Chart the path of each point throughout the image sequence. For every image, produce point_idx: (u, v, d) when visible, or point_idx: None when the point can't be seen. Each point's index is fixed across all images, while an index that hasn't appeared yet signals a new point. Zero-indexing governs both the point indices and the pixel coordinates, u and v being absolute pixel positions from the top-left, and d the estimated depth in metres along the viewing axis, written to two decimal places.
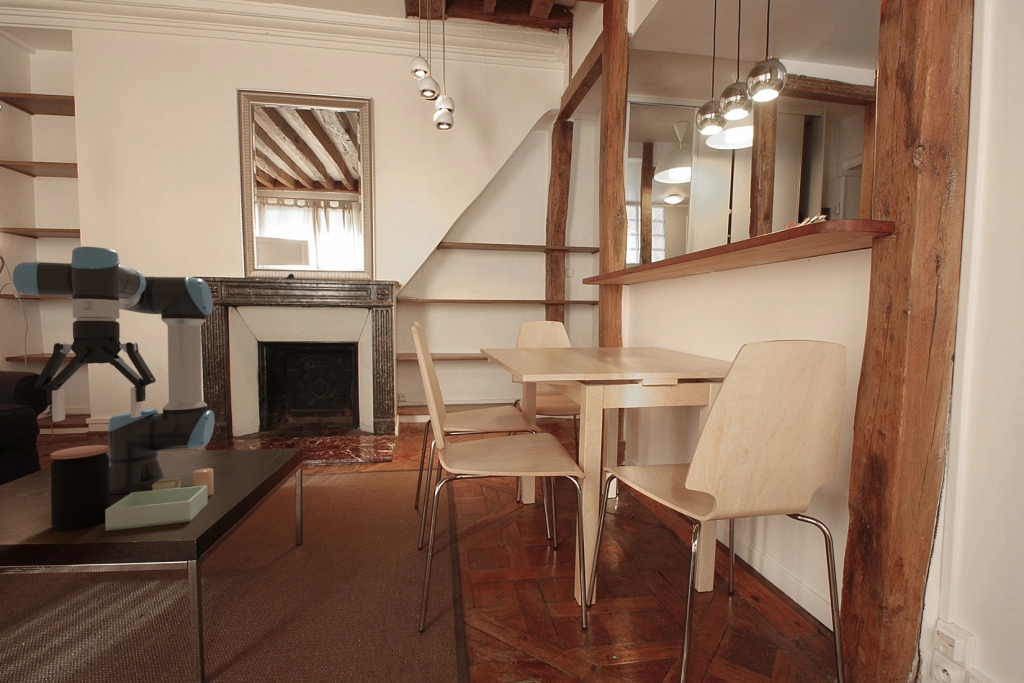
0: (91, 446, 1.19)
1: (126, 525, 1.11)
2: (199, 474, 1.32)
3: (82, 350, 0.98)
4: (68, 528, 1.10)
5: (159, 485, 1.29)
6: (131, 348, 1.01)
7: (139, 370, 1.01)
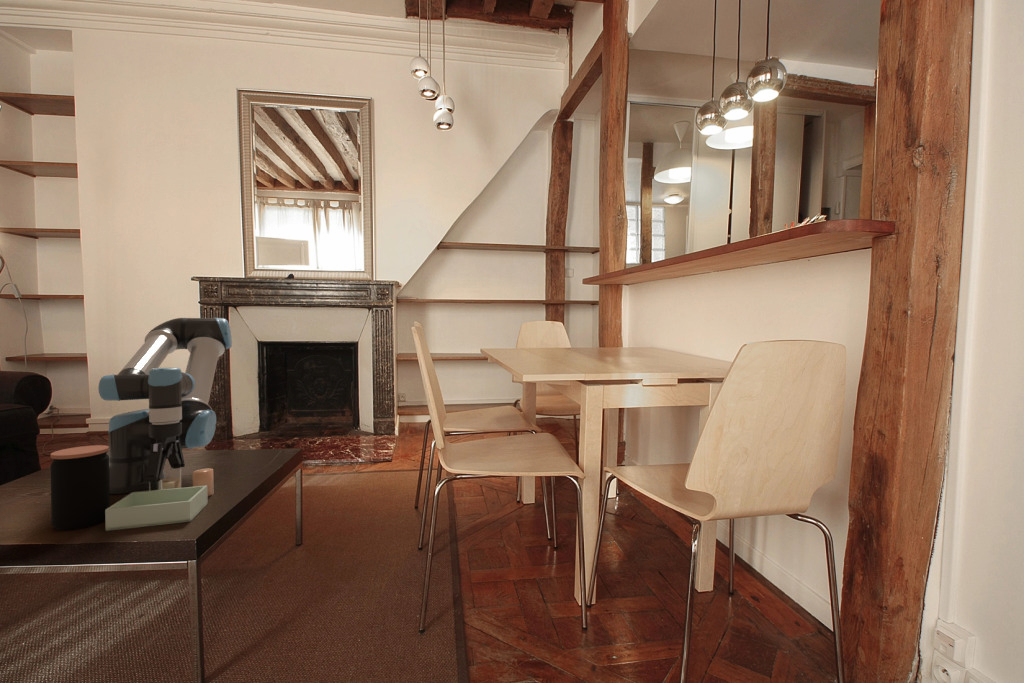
0: (91, 446, 1.19)
1: (126, 525, 1.11)
2: (199, 474, 1.32)
3: None
4: (68, 528, 1.10)
5: None
6: None
7: None
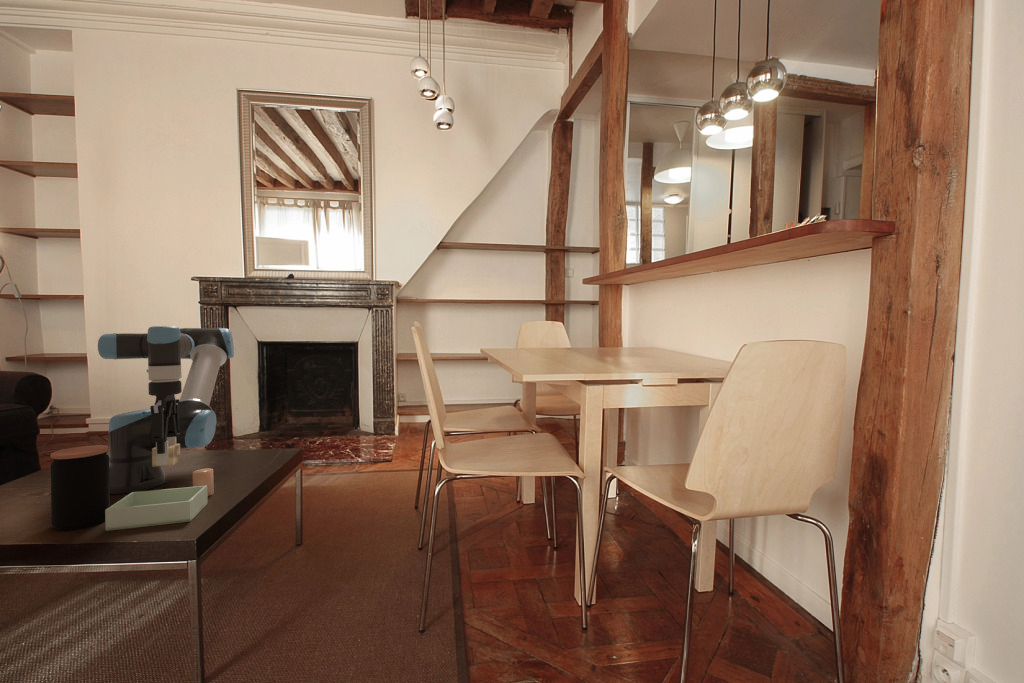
0: (91, 446, 1.19)
1: (126, 525, 1.11)
2: (199, 474, 1.32)
3: None
4: (68, 528, 1.10)
5: None
6: None
7: None
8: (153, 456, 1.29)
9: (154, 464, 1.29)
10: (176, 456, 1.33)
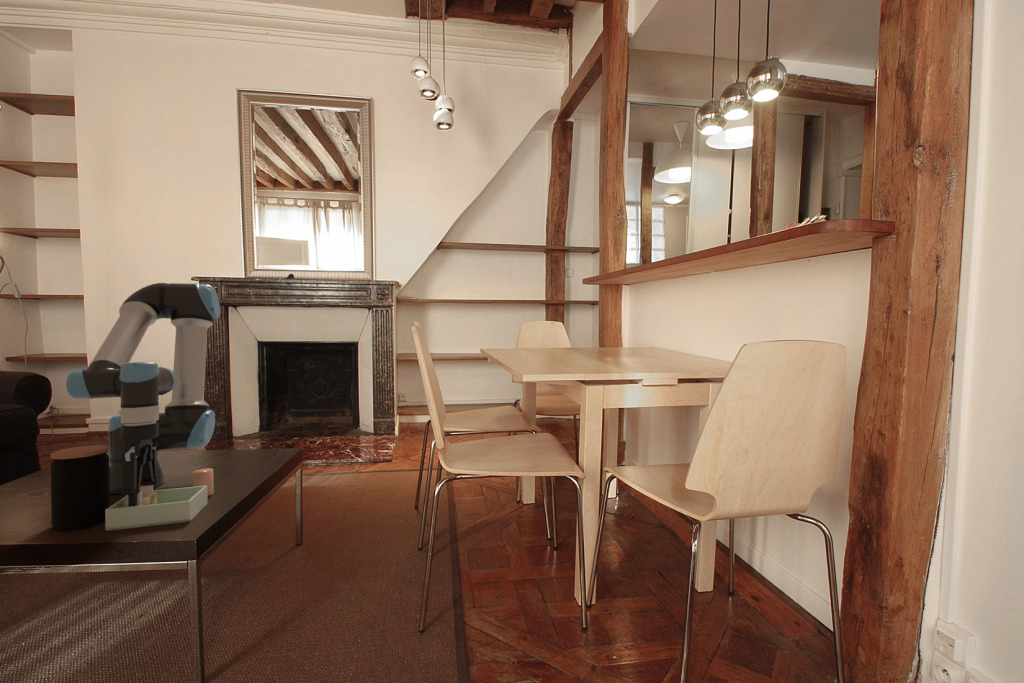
0: (91, 446, 1.19)
1: (126, 525, 1.11)
2: (199, 474, 1.32)
3: None
4: (68, 528, 1.10)
5: None
6: None
7: None
8: None
9: None
10: None
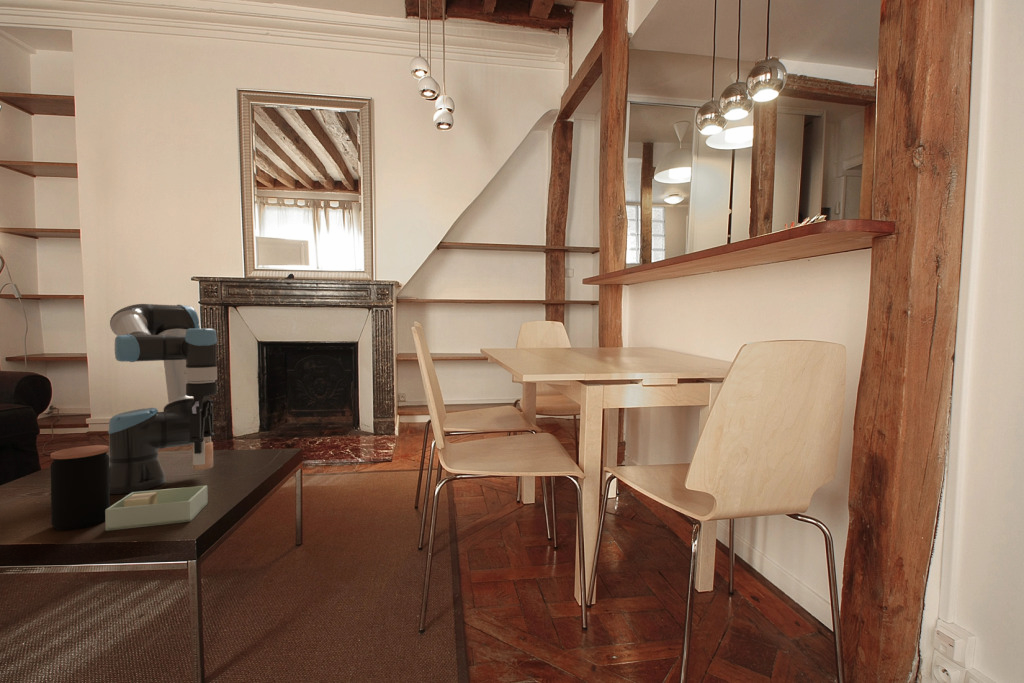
0: (91, 446, 1.19)
1: (126, 525, 1.11)
2: None
3: None
4: (68, 528, 1.10)
5: (132, 501, 1.14)
6: None
7: None
8: None
9: None
10: None
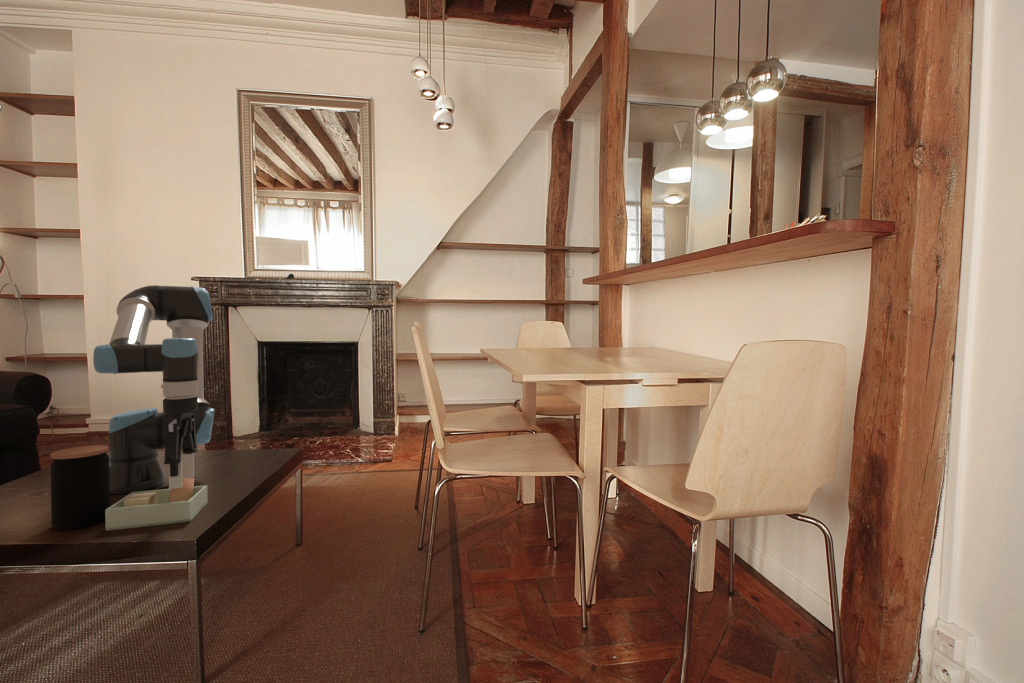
0: (91, 446, 1.19)
1: (126, 525, 1.11)
2: None
3: None
4: (68, 528, 1.10)
5: (132, 501, 1.14)
6: None
7: None
8: None
9: None
10: None
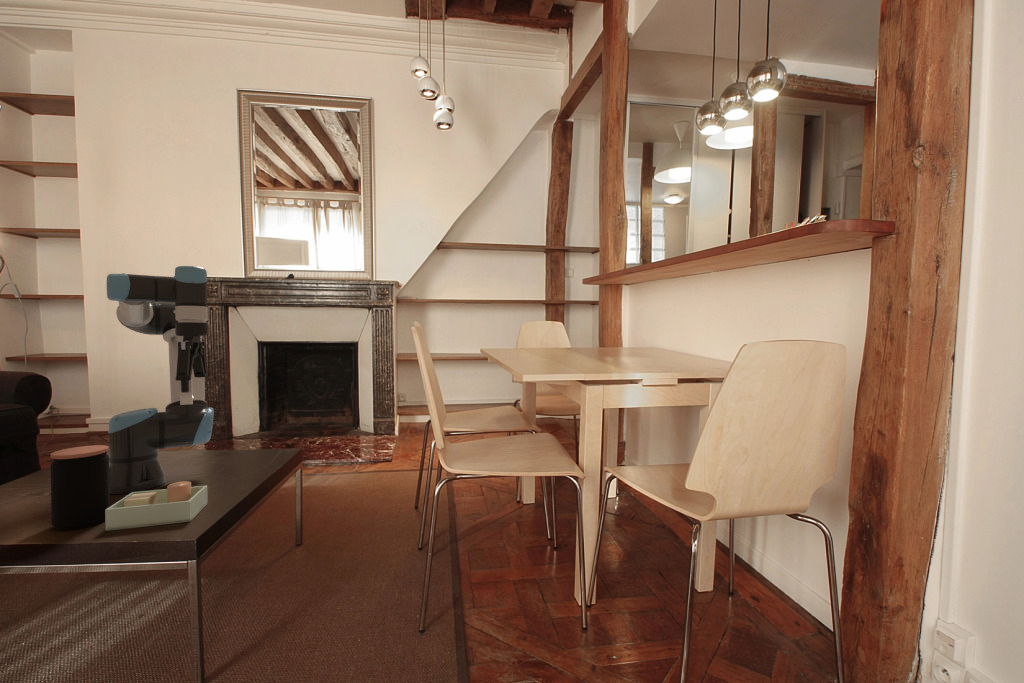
0: (91, 446, 1.19)
1: (126, 525, 1.11)
2: (175, 489, 1.17)
3: None
4: (68, 528, 1.10)
5: (132, 501, 1.14)
6: None
7: None
8: None
9: None
10: None
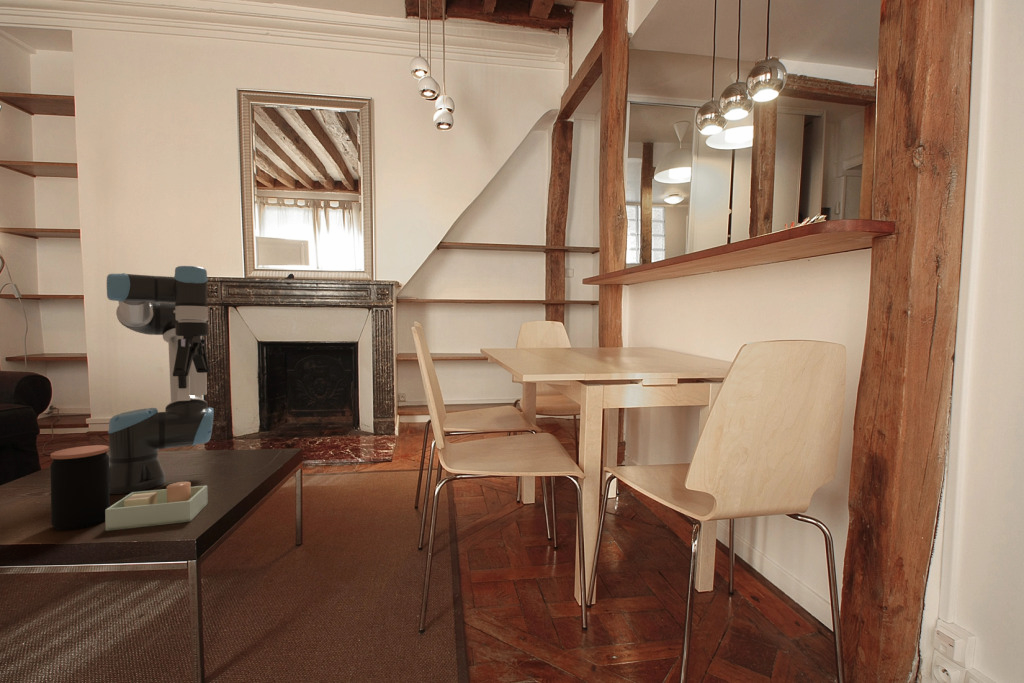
0: (91, 446, 1.18)
1: (126, 525, 1.11)
2: (175, 488, 1.17)
3: None
4: (68, 528, 1.10)
5: (132, 501, 1.14)
6: None
7: None
8: None
9: None
10: None
